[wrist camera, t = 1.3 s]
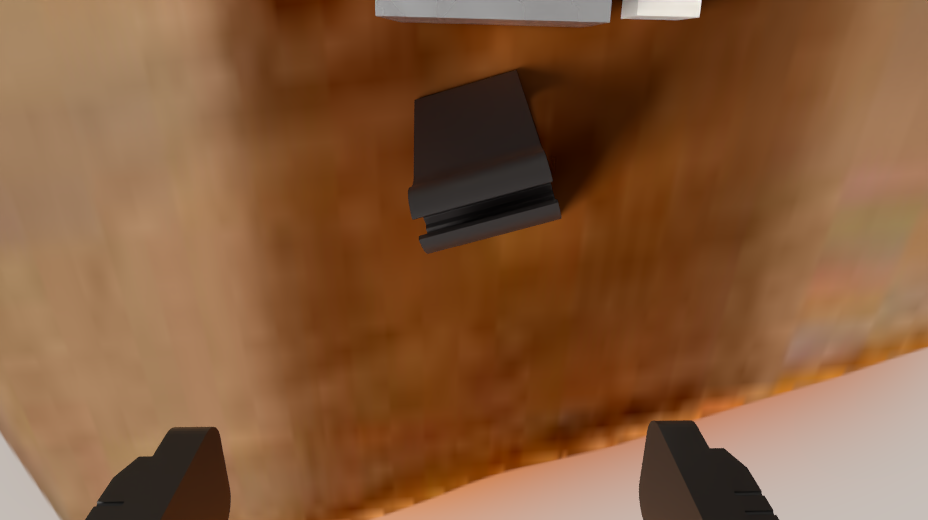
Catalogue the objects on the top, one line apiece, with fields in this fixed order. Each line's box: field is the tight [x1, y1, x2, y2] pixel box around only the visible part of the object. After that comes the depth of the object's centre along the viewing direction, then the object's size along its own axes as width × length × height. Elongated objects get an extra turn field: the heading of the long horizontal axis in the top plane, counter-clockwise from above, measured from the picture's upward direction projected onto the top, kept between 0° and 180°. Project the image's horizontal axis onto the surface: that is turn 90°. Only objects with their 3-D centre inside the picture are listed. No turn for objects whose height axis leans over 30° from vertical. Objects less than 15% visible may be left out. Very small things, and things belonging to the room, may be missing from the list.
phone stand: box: [408, 70, 561, 254], centre depth 32 cm, size 9×6×12 cm, turn 16°
